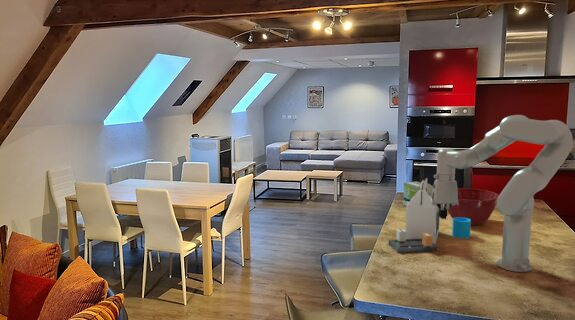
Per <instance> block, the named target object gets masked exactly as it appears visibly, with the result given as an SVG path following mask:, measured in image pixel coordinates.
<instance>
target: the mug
mask: <svg viewBox="0 0 575 320" xmlns="http://www.w3.org/2000/svg"><path fill="white" fill-rule="evenodd" d="M471 226H472V225H471V220H470V219H468V218H463V217H456V218H452V227H451V228H452V230H451V231H452V233H451V234H452V235H451V236H452V237H455V238H458V239H469V238H471Z"/></svg>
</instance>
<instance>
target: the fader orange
mask: <svg viewBox="0 0 575 320" xmlns="http://www.w3.org/2000/svg"><path fill="white" fill-rule="evenodd" d="M432 238H433V236H432V235H430V234H429V233H425V234H422V244H423V245H425V246H432Z"/></svg>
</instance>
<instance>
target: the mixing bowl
mask: <svg viewBox="0 0 575 320" xmlns="http://www.w3.org/2000/svg"><path fill="white" fill-rule="evenodd" d="M457 191H458V199H457V203H456V205H453V206H451V207H450V208H449V210H447V213H448V214H449V216H450V217H451V218H452V219H453V218H456V217H463V218H468V219H470V220H471V226H475V225H476V226H477V225H482V223H485V222H486V221H488V220H489V218H490V217H491V215H492V214H493V212H494V211H495V208H496V207H497V204H496V202H497V198H498V196H499V195H500V194H498V193H496V192H495V191H494V192H493V191H491V190H490V191H489V190H485V189H479V188H469V187H468V188H463V187H462V188H461V187H460V188H459V187H457Z"/></svg>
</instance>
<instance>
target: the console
mask: <svg viewBox="0 0 575 320" xmlns="http://www.w3.org/2000/svg"><path fill="white" fill-rule="evenodd" d="M388 245H389V246H390V247H391V248H392V249H393V250H394V249H395V250H396V251H395V250H394V251H395V252H396V253H397V254H399V253H401V254H402V253H419V252H422V253H423V252H437V251H439V249H438V247H439V246H438V245H437V244H436V243H435V244H434V243H432V246H425V245H423V244H422V239H406V241H401V242H399V241H398V240H397V239H396V238H394V239H388Z"/></svg>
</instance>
